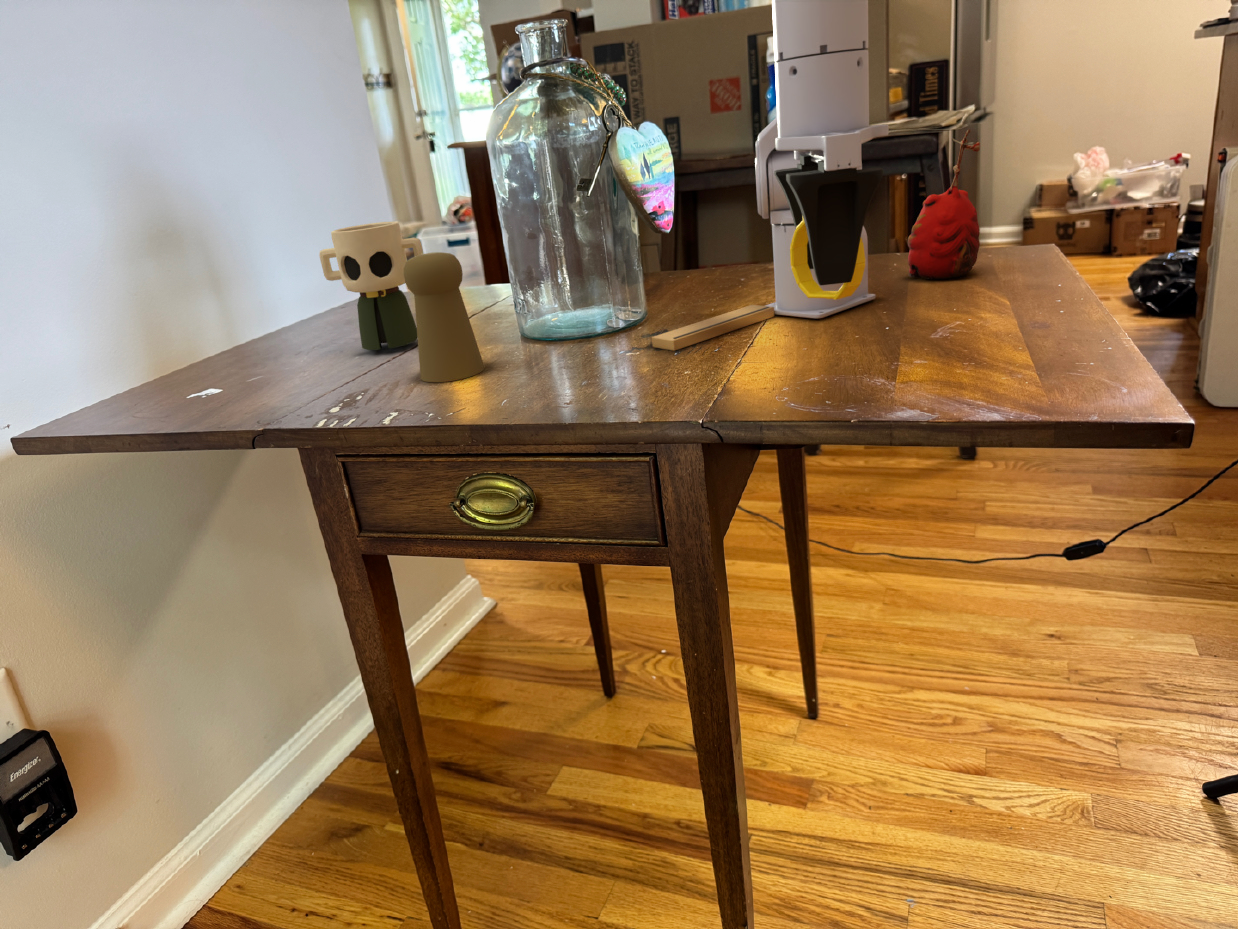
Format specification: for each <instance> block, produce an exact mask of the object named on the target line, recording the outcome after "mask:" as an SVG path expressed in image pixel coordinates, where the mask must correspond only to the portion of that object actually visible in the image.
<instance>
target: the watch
mask: <svg viewBox="0 0 1238 929" xmlns="http://www.w3.org/2000/svg"><path fill="white" fill-rule="evenodd" d="M802 219H803V221H802V222H801V223H800V224H799V225H798V226H797V227H796V230H795V231H794V235H793V238H792V242H791V245H790V247H791V248H790V261H791V269H792V272H793V275H794V277H795V280H796V283H797V284H798V287H799V288H800V289H801V290H802V291H803V292H804V294H805V295H806V296H807V297H808V298H827V299H834V300H836V299H841V298H844V297H848V296H851V295H852V294H853V293H854V292H855V290H856V289H857V288H858V287H859V285H860V282H862V277H863V273H864V269H865V262H866V261H865V253H864V245H863V242H862V238H860V244H859V249H858V255H857V260H856V265H855V270H854V274H853V277H852V281H851V282H848V283H844V284H843V285H842V287H841V288H840V289H839V290H838V291H823V290H822V289H821V287H820V286H819V285H818V284H817V283H816V282H815V281H814V280H813V277H812V274H811V271H810V268H809V266H808V263H807V243H808V235H807V230H806V226H805V222H804V218H803V215H802Z"/></svg>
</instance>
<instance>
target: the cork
mask: <svg viewBox="0 0 1238 929" xmlns="http://www.w3.org/2000/svg"><path fill="white" fill-rule="evenodd" d="M461 264H462V263H461V262H460V260H459V259H458V258H457V257H456V255H455V254H453V253H451V252H443V251H435V252H434V251H433V252H426V253H423V254H421V255H418V256H416V257H415V256H413V257H411V258H409V259H407V262H406V263H405V266H404V279H405V285H406V287H407V289H408V290H409V291H410V292H411V293H412V294H413V299H414V309H415V324H416V327H417V337H418V338H417V347H418V348H417V350H418V362H419V373H420V374H419V375H420V376H419V377H420V380H421V381H423V382H427V383H446V382H447V383H448V382H454V381H458V380H463V379H467V378H470V377H474V376H476V375H478V374H480V373H482V372H483V371H484V370H485V369H486V367H485V364H484V361H483V358H482V354H481V351H480V349H479V345H478V343H477V342H478V341H477V340H476V336H475V333H474V329H473V326H472V323H471V321H470V317H469V314H468V311H467V308H466V305H465V302H464V299H463V296H462V293H461V289H460V286H461V284H462V282H463V274H464V273H463V267H462V265H461Z"/></svg>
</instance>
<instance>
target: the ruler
mask: <svg viewBox="0 0 1238 929" xmlns="http://www.w3.org/2000/svg"><path fill="white" fill-rule="evenodd" d="M774 317H775V314H774V307H769V306H765V305H759V304H758V305H757V304H749V305H746V306H743V307H741V308H738V309H734V310H732V311H728V312H725V313H722V314H719V315H716V316H713V317H709V318H707V319H703V320H700V321H698V322H695V323H691V324H688V325H684V326H681V327H679V328H675V329H673V330H670V331H666V332H663V333H660V334H658V335H657V334H656V335H654V336H652V337H651V342H652V348H655V349H656V348H657V349H662V350H666V351H667V350H668V351H674V352H675V351H678V350H681V349H683V348H684V349H685V348H686V347H690V346H692V345H696V344H699V343H701V342H705V341H707V340H710V339H713V338H715V337H719V336H722V335H724V334H728V333H730V332H734V331H736V330H739V329H742V328H745V327H748V326H751V325H754V324H757V323H759V322H762V321H765V320H769V319H771V318H774Z"/></svg>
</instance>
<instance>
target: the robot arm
mask: <svg viewBox="0 0 1238 929" xmlns="http://www.w3.org/2000/svg"><path fill="white" fill-rule="evenodd" d="M771 8H772V31H773V33H772V34H773V55H774V74H775V75H774V76H775V96H776V117H775V118H774V119H773V120H772V121H771V122H770V123H769V124H767V125H766V127H764V128H763V129H762V130H761V131H760V132H759V133H758V135H757V140H756V141H755V158H754V163H755V164H754V167H755V187H756V203H757V204H756V205H757V206H756V207H757V214H758V215H759V216H760V217H762V219H763V220H768V219H770V225H771V234H772V235H771V237H772V253H773V254H772V255H773V273H774V274H773V275H774V293H775V294H774V295H775V301H774V302H771V303H769V304H766V305H764V306H769V307H774V315H777V316H789V317H795V318H796V317H798V318H805V319H806V318H807V319H817V320H818V319H823V318H826V317H828V316H831V315H834V314H837V313H839V312H842V311H845V310H848V309H850V308H853V307H857V306H859V305H863V304H864V303H867V302H870V301H872V300H875V299H876V294H875V293H869V245H868V244H869V240H868V235H867V230H866V228H865V226H864V225H865V220H866V217H867V214H868V210H869V209H870V204H871V202H872V200H873V198H874V195H875V193H876V192H877V189H878V187H879V185H880V183H881V181H882V180H883V179H882V178H883V175H884V169H883V168H881V167H869V168H868V167H867V168H863V163H862V161H863V160H862V144H865V143H867V142H869V141H871V140H873V139H874V138H877V137H886V136H888V135H889V124H888V123H880V124H872V125H870V75H869V73H870V69H869V67H870V66H869V0H771ZM774 149H775V150H776V151H774ZM802 215H803V218H804V222H805V226H806V230H807V235H808V243H807V263H808V266H809V268H810V271H811V274H812V277H813V280H814V281H815V282H816V283H817V284H818V285H819V286H820V287H821V289H822V290H823V291H838V290H839V289H840V288H841V287H842V285H843V284H844V283H848V282H851V281H852V277H853V274H854V270H855V265H856V260H857V255H858V249H859V244H860V238H862V242H863V245H864V253H865V261H866V262H865V269H864V273H863V277H862V282H860V285H859V287H858V288H857V289H856V290H855V292H854V293H853V294H852V295H851V296H848V297H844V298H841V299H836V300H834V299H827V298H808V297H807V296H806V295H805V294H804V292H803V291H802V290H801V289H800V288H799V287H798V284H797V283H796V280H795V277H794V275H793V272H792V269H791V261H790V248H791V247H790V245H791V242H792V238H793V235H794V231H795V230H796V227H797V226H798V225H799V224H800V223H801V222H802V221H803V219H802Z"/></svg>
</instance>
